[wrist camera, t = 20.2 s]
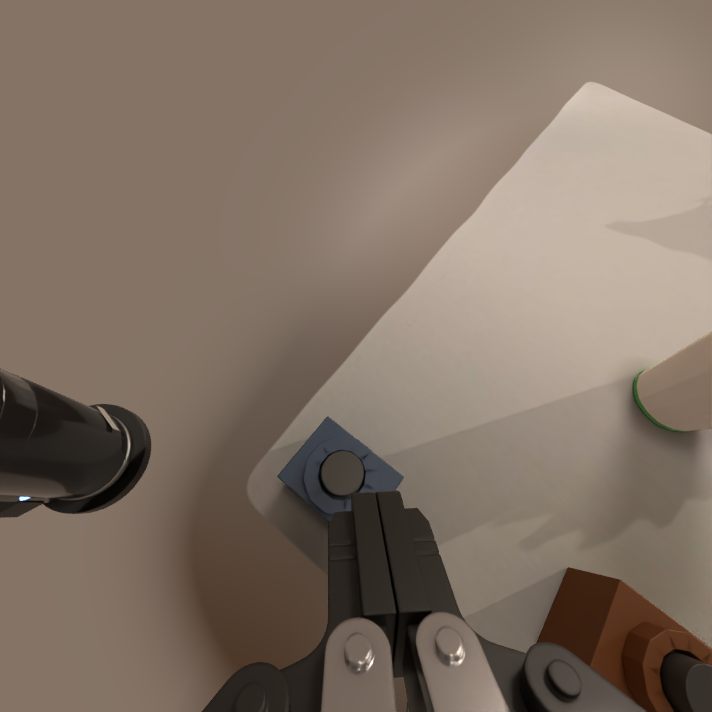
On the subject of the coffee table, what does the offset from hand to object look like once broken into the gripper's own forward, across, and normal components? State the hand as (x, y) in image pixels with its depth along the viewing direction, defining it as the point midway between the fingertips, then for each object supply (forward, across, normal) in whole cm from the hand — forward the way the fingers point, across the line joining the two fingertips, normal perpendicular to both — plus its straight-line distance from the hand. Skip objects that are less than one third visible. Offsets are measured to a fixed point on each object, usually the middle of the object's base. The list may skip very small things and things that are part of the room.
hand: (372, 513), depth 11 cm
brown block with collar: (+11, -24, +28) cm, 39 cm away
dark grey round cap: (+15, 0, +11) cm, 19 cm away
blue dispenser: (+22, 0, +18) cm, 28 cm away
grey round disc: (+5, -24, +22) cm, 33 cm away
